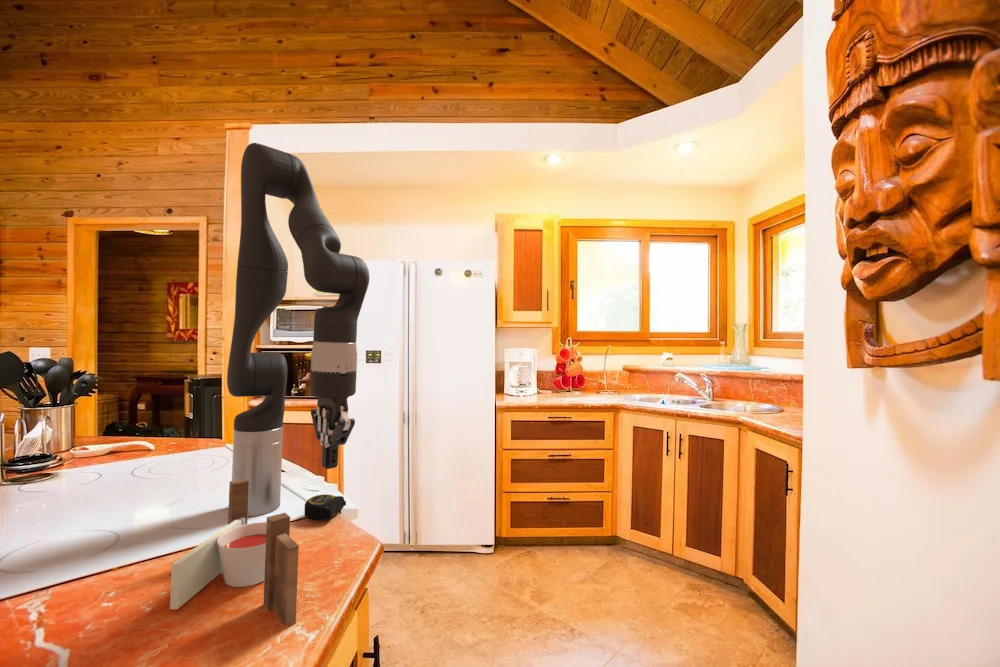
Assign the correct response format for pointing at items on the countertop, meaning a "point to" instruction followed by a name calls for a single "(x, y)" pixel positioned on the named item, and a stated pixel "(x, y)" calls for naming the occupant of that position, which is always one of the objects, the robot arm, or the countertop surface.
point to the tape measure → (323, 507)
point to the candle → (243, 554)
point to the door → (197, 568)
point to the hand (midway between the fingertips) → (329, 467)
